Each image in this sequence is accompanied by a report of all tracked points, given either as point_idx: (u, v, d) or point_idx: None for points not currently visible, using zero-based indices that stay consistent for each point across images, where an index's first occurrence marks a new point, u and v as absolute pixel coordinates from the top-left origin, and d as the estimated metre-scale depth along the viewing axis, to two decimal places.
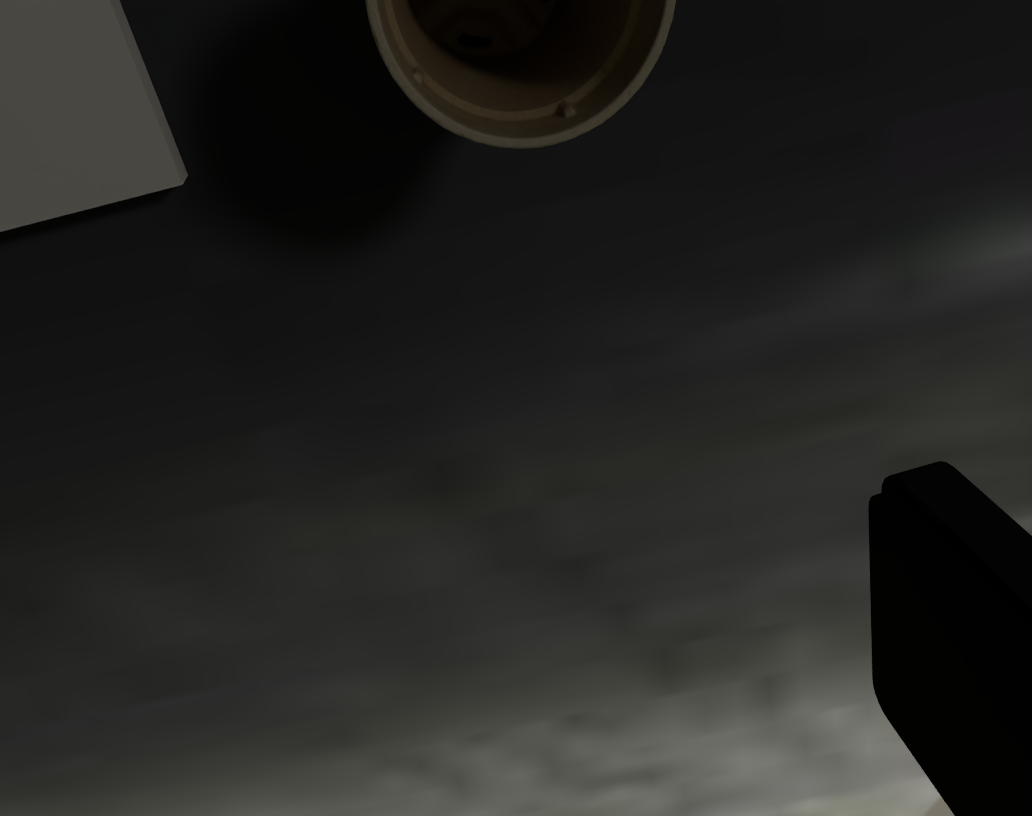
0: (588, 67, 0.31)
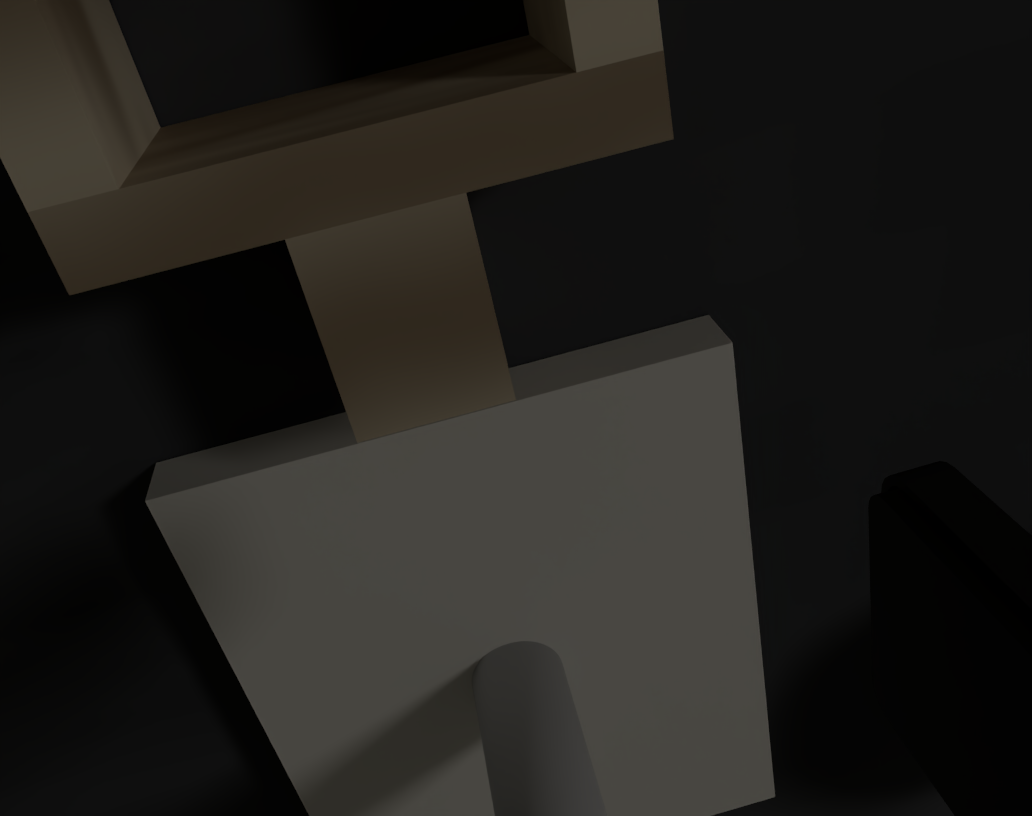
0: None
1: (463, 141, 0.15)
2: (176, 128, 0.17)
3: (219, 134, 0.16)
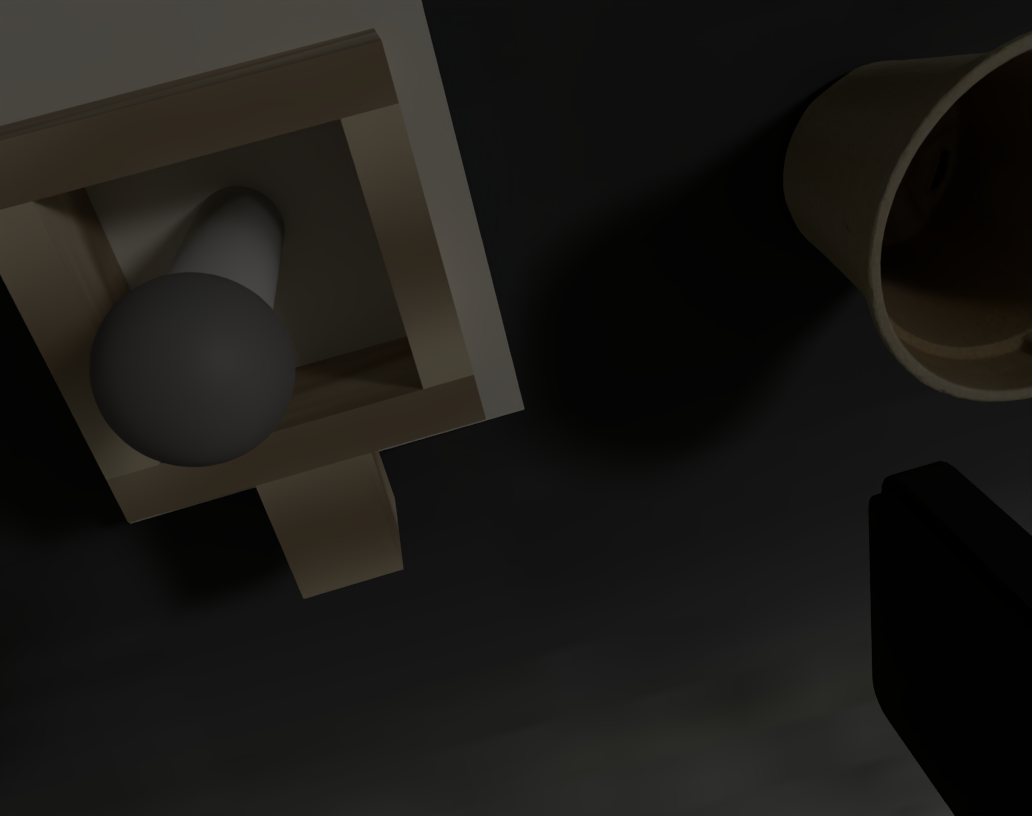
0: None
1: (359, 428, 0.25)
2: None
3: None
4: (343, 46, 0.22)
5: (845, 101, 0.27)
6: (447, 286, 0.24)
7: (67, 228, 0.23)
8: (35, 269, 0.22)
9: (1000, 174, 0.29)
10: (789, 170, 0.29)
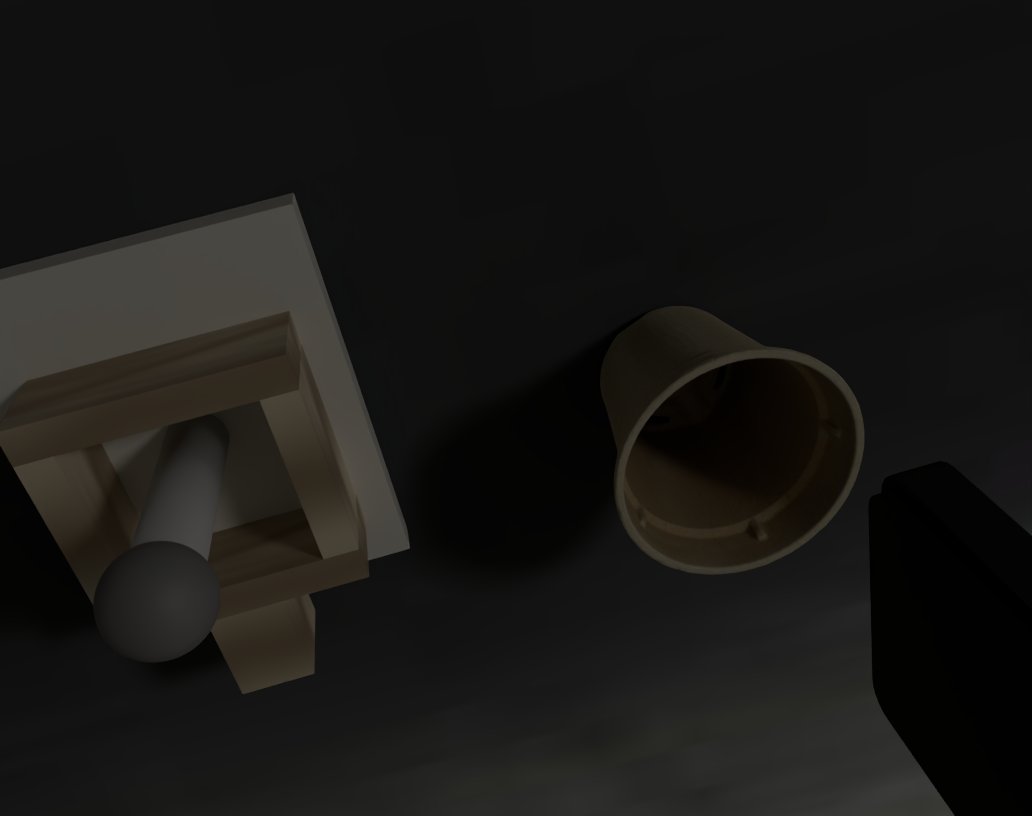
0: (771, 486, 0.37)
1: (279, 584, 0.36)
2: None
3: None
4: (262, 349, 0.32)
5: (631, 348, 0.37)
6: (337, 496, 0.35)
7: (75, 460, 0.33)
8: (55, 496, 0.33)
9: (755, 387, 0.40)
10: (602, 382, 0.40)
